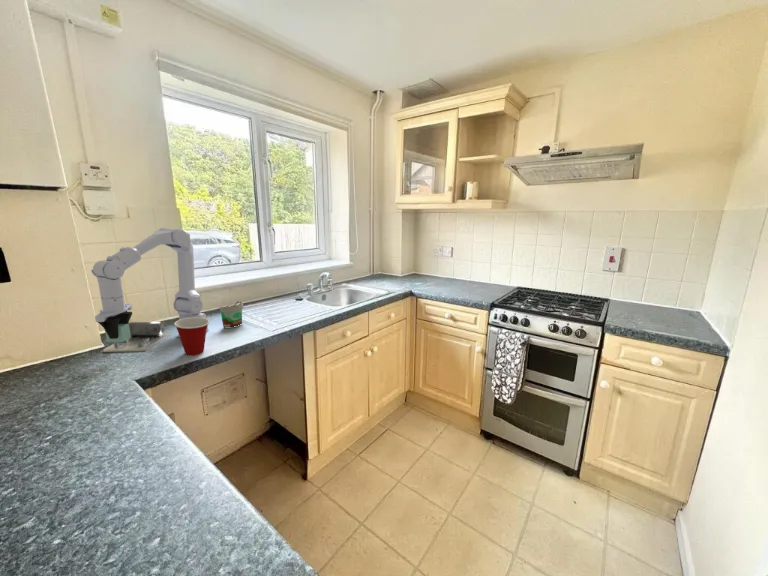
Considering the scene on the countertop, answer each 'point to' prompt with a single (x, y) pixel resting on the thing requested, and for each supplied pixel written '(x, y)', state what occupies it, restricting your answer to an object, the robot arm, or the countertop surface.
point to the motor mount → (140, 337)
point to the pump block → (120, 334)
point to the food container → (232, 314)
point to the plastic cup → (192, 334)
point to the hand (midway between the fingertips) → (118, 335)
